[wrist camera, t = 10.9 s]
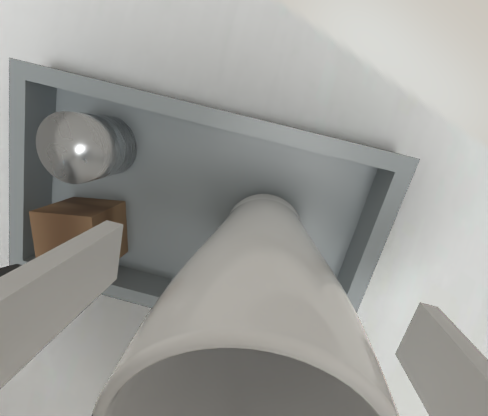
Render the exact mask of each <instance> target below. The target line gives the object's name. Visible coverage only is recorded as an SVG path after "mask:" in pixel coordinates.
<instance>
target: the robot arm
mask: <svg viewBox="0 0 488 416" xmlns="http://www.w3.org/2000/svg"><path fill="white" fill-rule="evenodd" d="M122 232H123V224H120V223H116V222H112V221H108V220H106V221H104V222H102V223H100V224H99V225H97V226H95V227H93V228H91V229H89V230H87V231H85V232H84V233H82V234H80V235H78V236H76V237H74V238H72V239H70V240H69V241H67V242H65V243H63V244H61V245H59V246H57V247H55V248H54V249H52V250H50V251H48V252H46V253H44V254H42V255H40V256H39V257H37V258H35V259H33V260H31V261H29V262H27V263H25V264H24V265H20V264H14V265H10V266H7V267H3V268H0V389H1V388H2V387H3V386H4V385H5V384H6V383H7V382H8V381H9V380H11V379H12V378H13V377H14V376H15V375H16V374H17V373H18V372H19V371H20V370H21V369H22V368H23V367H24V366H25V365H26V364H27V363H29V362H30V361H31V360H32V359H33V358H34V357H35V356H36V355H37V354H38V353H39V352H40V351H41V350H42V349H43V348H44V347H45V346H46V345H48V344H49V343H50V342H51V341H52V340H53V339H54V338H55V337H56V336H57V335H58V334H59V333H60V332H61V331H62V330H63V329H64V328H66V327H67V326H68V325H69V324H70V323H71V322H72V321H73V320H74V319H75V318H76V317H77V316H78V315H79V314H80V313H81V312H82V311H83V310H85V309H86V308H87V307H88V306H89V305H90V304H91V303H92V302H93V301H94V300H95V299H96V298H97V297H98V296H99V295H100V294H101V293H103V292H104V291H105V290H106V289H107V288H108V287H109V286H110V285H111V284H112V283H113V282H114V281H115V280H116V279H117V273H118V265H119V257H120V249H121V241H122ZM395 354H396V356H397V358H398V360H399V362H400V363H401V365H402V367H403V369H404V371H405V372H406V374H407V376H408V378H409V380H410V381H411V383H412V385H413V387H414V389H415V390H416V392H417V394H418V396H419V398H420V400H421V401H422V403H423V405H424V407H425V409H426V410H427V412H428V414H429V416H488V360H487V358H486V357H485V356H484V355H483V354H482V353H481V352H480V351H479V350H478V349H477V348H476V347H475V346H474V345H473V344H472V343H471V342H470V340H469V339H468V338H467V337H466V336H465V335H464V334H463V333H462V332H461V331H460V330H459V329H458V328H457V327H456V326H455V325H454V324H453V322H452V321H451V320H450V319H449V318H448V317H447V316H446V315H445V314H444V313H443V312H442V311H441V310H440V309H439V308H438V307H436V306H432V305H428V304H424V303H421V302H420V303H419V306H418V308H417V310H416V312H415V314H414V316H413V318H412V320H411V322H410V324H409V326H408V328H407V330H406V333H405V335H404V337H403V339H402V341H401V343H400V345H399V347H398V349H397V351H396V353H395Z"/></svg>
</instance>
